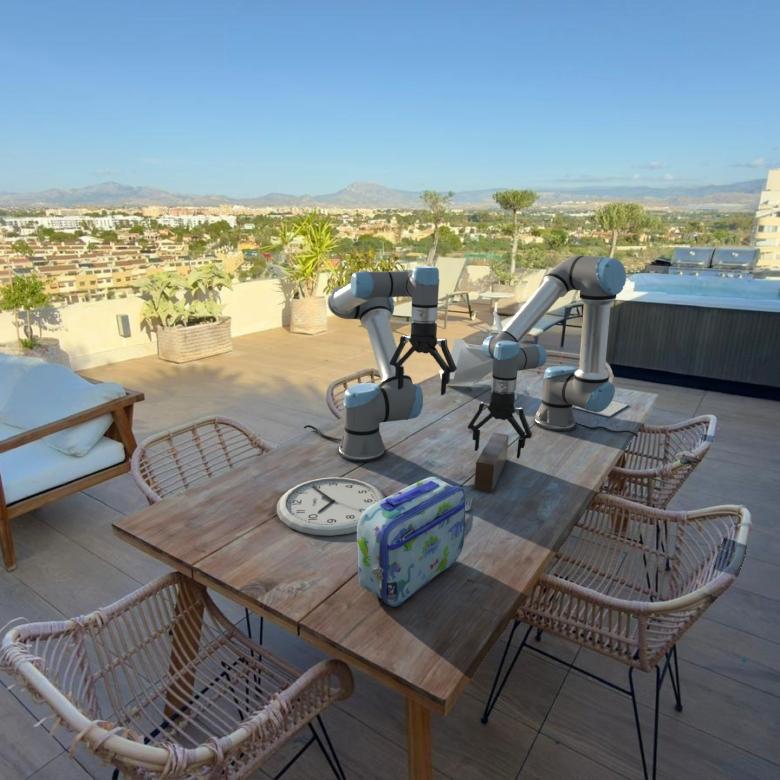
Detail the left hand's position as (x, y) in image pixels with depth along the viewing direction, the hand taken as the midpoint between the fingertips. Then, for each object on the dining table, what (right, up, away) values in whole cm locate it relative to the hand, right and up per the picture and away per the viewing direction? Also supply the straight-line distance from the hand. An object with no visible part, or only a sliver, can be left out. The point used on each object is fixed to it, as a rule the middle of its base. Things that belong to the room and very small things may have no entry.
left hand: (421, 391), depth 158 cm
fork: (+9, -33, -20) cm, 40 cm away
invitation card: (+82, -7, +68) cm, 107 cm away
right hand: (+25, -20, +12) cm, 35 cm away
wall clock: (-25, -31, -15) cm, 43 cm away
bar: (+22, -26, +5) cm, 34 cm away
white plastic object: (+32, -1, +85) cm, 91 cm away
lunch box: (-5, -41, -44) cm, 60 cm away
